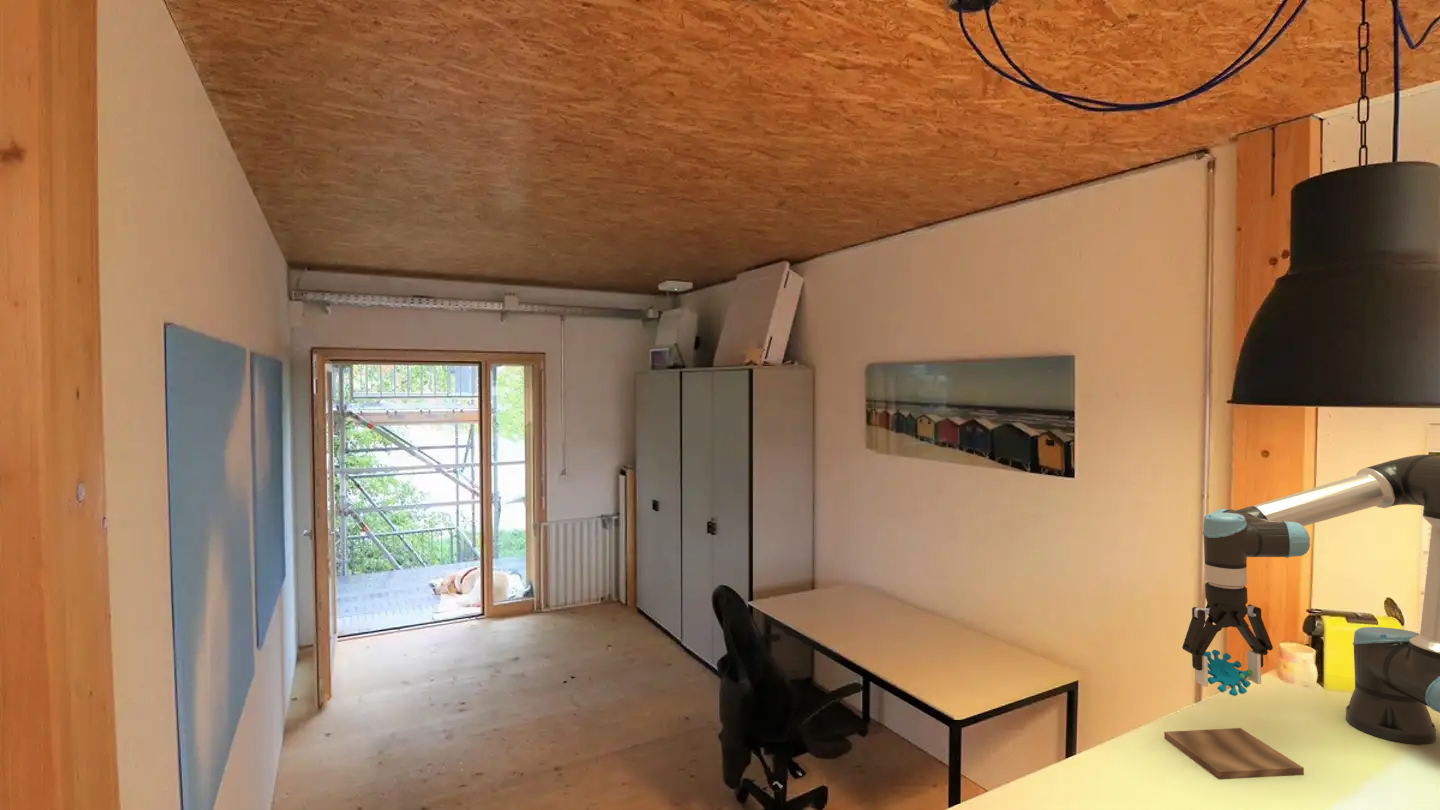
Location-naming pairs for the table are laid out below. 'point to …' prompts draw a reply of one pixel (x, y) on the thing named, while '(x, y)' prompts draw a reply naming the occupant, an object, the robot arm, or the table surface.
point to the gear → (1227, 673)
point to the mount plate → (1233, 753)
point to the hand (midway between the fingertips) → (1228, 682)
